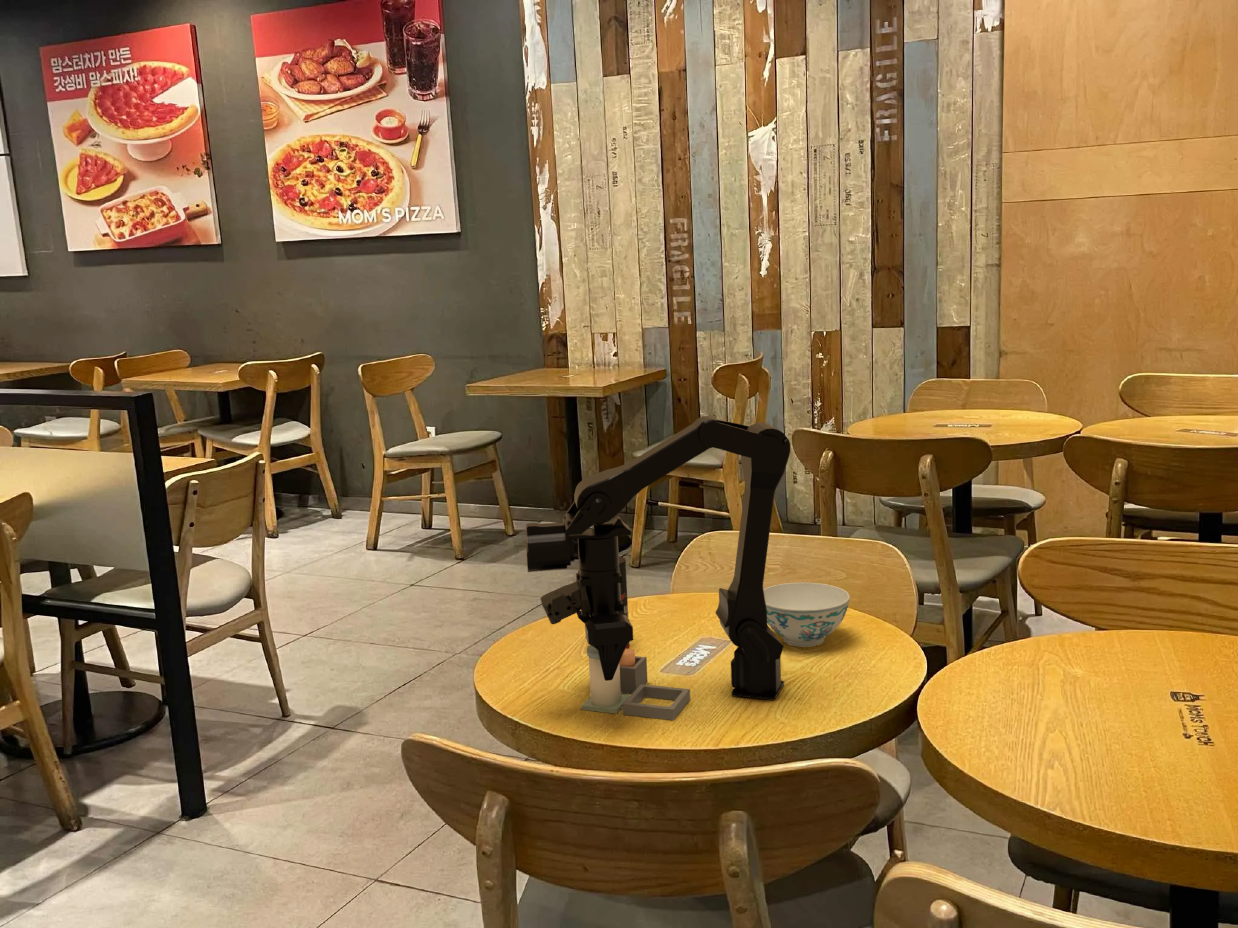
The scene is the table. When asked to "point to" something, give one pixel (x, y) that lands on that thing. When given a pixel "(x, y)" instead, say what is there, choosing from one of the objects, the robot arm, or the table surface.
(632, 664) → the button
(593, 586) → the robot arm
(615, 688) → the cylinder
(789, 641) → the chinaware
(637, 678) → the box
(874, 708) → the table surface
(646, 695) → the socket
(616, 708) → the coaster
